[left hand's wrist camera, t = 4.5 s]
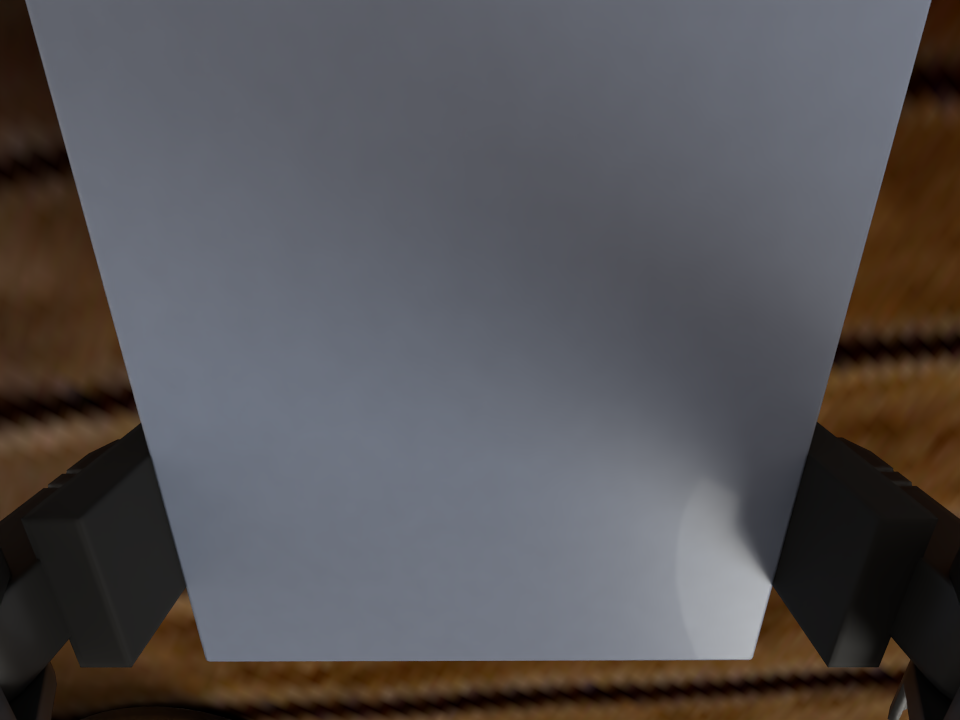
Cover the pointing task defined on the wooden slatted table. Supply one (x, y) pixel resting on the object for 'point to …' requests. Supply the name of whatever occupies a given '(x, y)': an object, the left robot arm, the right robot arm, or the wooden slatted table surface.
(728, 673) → the wooden slatted table surface
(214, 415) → the cabinet
